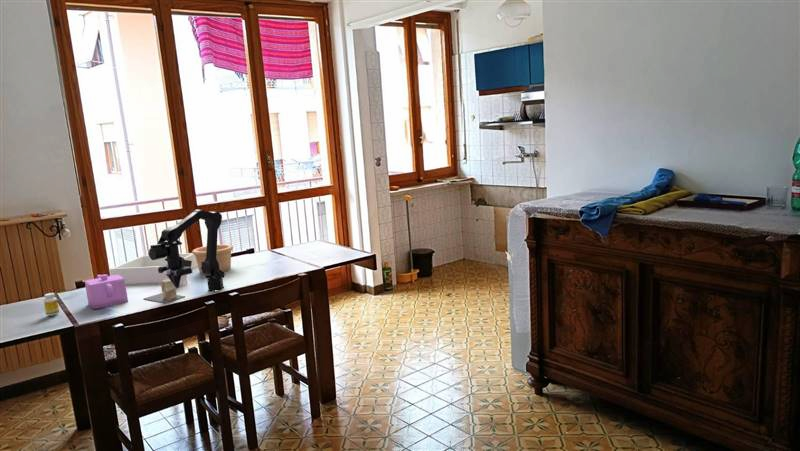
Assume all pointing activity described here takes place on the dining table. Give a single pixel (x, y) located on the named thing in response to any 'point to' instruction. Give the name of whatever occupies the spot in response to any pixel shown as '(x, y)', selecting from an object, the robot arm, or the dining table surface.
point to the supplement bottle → (51, 304)
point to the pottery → (222, 257)
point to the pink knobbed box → (106, 291)
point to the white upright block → (183, 280)
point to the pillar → (168, 290)
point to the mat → (161, 298)
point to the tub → (146, 269)
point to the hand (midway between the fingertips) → (177, 287)
